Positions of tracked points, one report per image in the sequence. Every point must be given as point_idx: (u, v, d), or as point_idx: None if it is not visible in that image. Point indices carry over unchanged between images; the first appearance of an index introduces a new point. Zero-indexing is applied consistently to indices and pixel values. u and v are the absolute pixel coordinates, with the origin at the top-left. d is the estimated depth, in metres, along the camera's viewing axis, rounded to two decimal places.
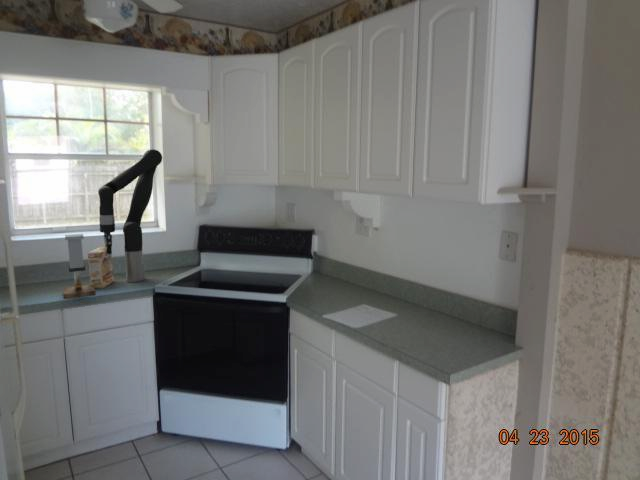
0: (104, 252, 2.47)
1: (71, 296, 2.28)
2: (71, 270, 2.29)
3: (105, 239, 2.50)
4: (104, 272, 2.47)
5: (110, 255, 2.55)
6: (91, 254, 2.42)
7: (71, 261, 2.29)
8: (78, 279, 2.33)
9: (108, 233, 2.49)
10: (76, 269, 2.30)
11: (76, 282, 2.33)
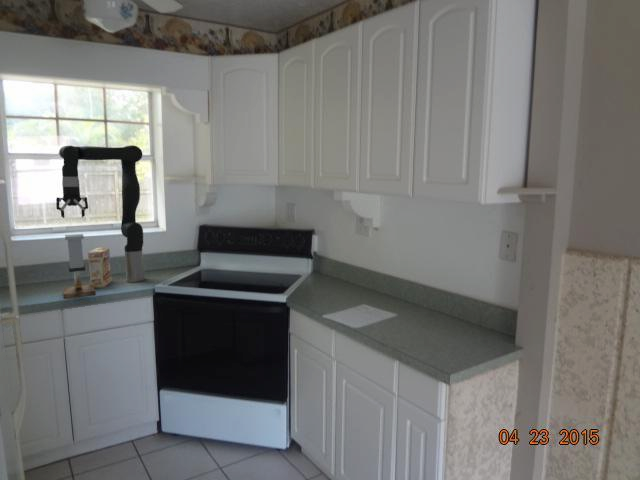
0: (104, 252, 2.48)
1: (71, 296, 2.28)
2: (71, 270, 2.29)
3: (78, 202, 2.35)
4: (104, 272, 2.48)
5: (108, 255, 2.56)
6: (92, 254, 2.43)
7: (71, 261, 2.29)
8: (78, 279, 2.33)
9: None
10: (76, 269, 2.30)
11: (76, 282, 2.33)
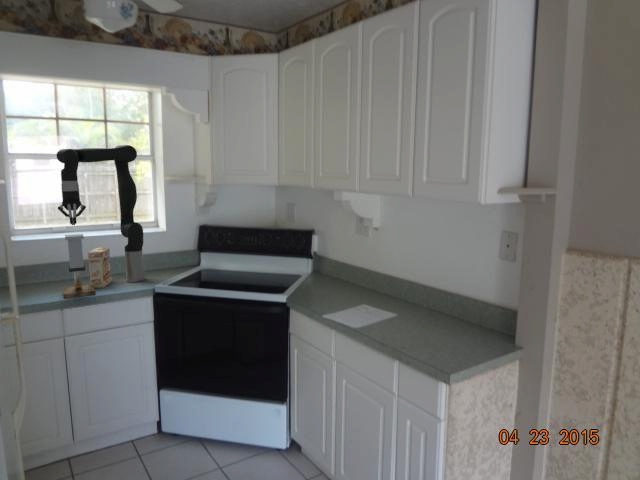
0: (104, 252, 2.48)
1: (71, 296, 2.28)
2: (71, 270, 2.29)
3: (76, 208, 2.29)
4: (104, 272, 2.48)
5: (108, 255, 2.56)
6: (92, 254, 2.43)
7: (71, 261, 2.29)
8: (78, 279, 2.33)
9: (79, 200, 2.30)
10: (76, 269, 2.30)
11: (76, 282, 2.33)
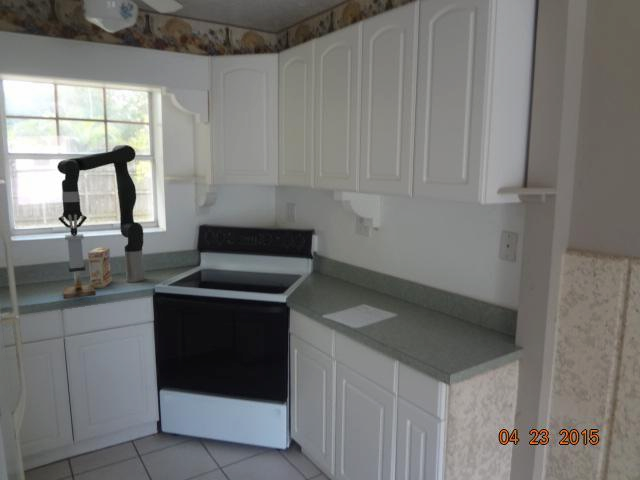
0: (104, 252, 2.48)
1: (71, 296, 2.28)
2: (71, 270, 2.29)
3: (76, 219, 2.29)
4: (104, 272, 2.48)
5: (108, 255, 2.56)
6: (92, 254, 2.43)
7: (71, 261, 2.29)
8: (78, 279, 2.33)
9: (80, 210, 2.31)
10: (76, 269, 2.30)
11: (76, 282, 2.33)
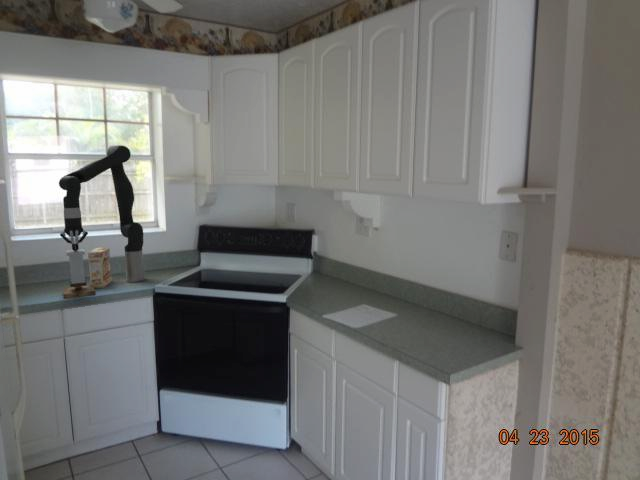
0: (104, 252, 2.48)
1: (71, 296, 2.28)
2: (72, 285, 2.31)
3: (78, 235, 2.31)
4: (104, 272, 2.48)
5: (108, 255, 2.56)
6: (92, 254, 2.43)
7: (72, 276, 2.31)
8: None
9: (81, 226, 2.32)
10: (77, 284, 2.32)
11: None
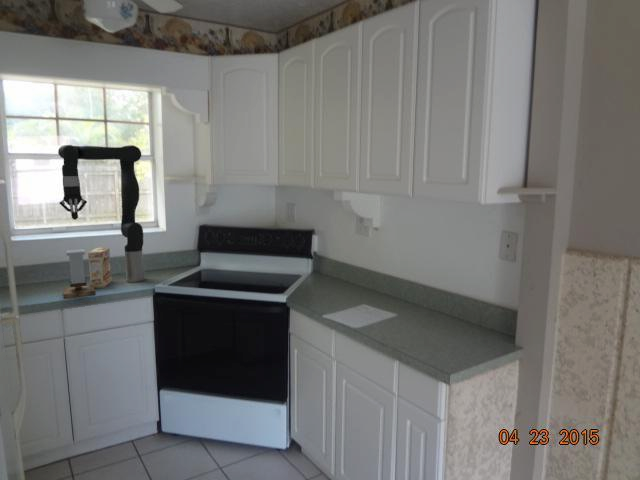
0: (104, 252, 2.48)
1: (71, 296, 2.28)
2: (72, 285, 2.31)
3: (77, 203, 2.34)
4: (104, 272, 2.48)
5: (108, 255, 2.56)
6: (92, 254, 2.43)
7: (72, 277, 2.31)
8: None
9: (80, 195, 2.36)
10: (77, 284, 2.32)
11: None
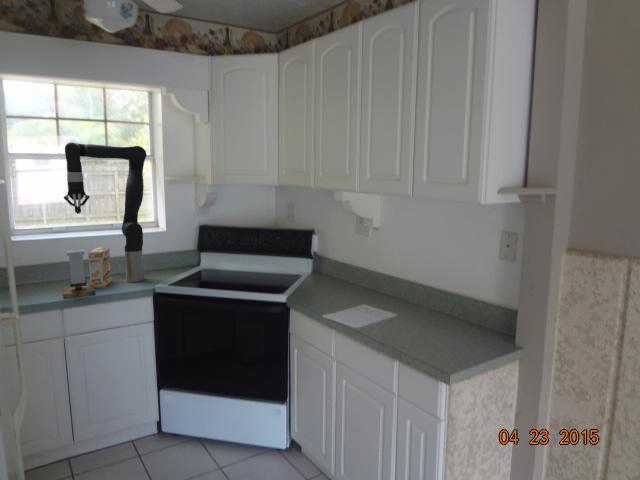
0: (104, 252, 2.48)
1: (71, 296, 2.28)
2: (72, 285, 2.31)
3: (80, 198, 2.46)
4: (104, 272, 2.48)
5: (108, 255, 2.56)
6: (92, 254, 2.43)
7: (72, 277, 2.31)
8: None
9: None
10: (77, 284, 2.32)
11: None
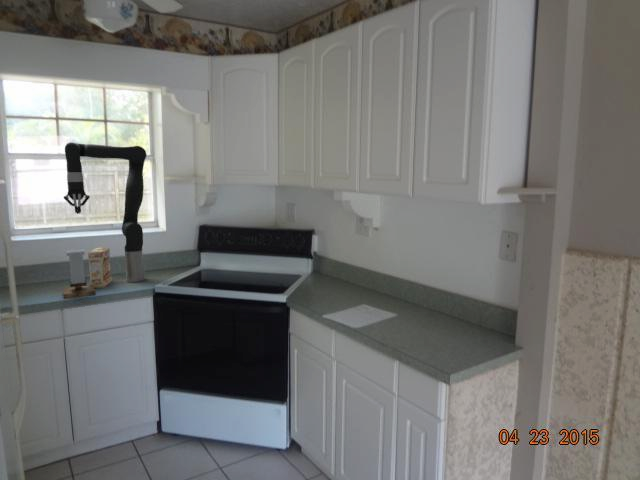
0: (104, 252, 2.48)
1: (71, 296, 2.28)
2: (72, 285, 2.31)
3: (80, 198, 2.46)
4: (104, 272, 2.48)
5: (108, 255, 2.56)
6: (92, 254, 2.43)
7: (72, 277, 2.31)
8: None
9: None
10: (77, 284, 2.32)
11: None
